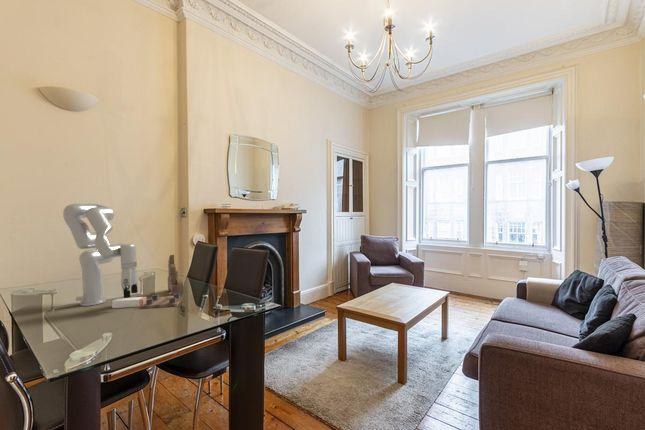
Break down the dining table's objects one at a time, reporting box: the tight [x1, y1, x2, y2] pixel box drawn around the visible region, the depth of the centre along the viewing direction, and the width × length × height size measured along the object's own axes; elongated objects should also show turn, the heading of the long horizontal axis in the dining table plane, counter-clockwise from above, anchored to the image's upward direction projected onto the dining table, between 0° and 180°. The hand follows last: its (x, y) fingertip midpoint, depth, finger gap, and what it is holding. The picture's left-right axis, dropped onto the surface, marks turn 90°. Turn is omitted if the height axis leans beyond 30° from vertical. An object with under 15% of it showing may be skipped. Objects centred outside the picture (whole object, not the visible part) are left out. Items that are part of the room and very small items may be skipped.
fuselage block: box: [111, 296, 147, 309], centre depth 174 cm, size 16×5×4 cm, turn 100°
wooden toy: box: [167, 254, 184, 296], centre depth 201 cm, size 16×7×25 cm, turn 38°
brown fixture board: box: [141, 293, 184, 310], centre depth 178 cm, size 18×14×4 cm
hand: (130, 295), depth 174 cm, fingers open, 9 cm apart
